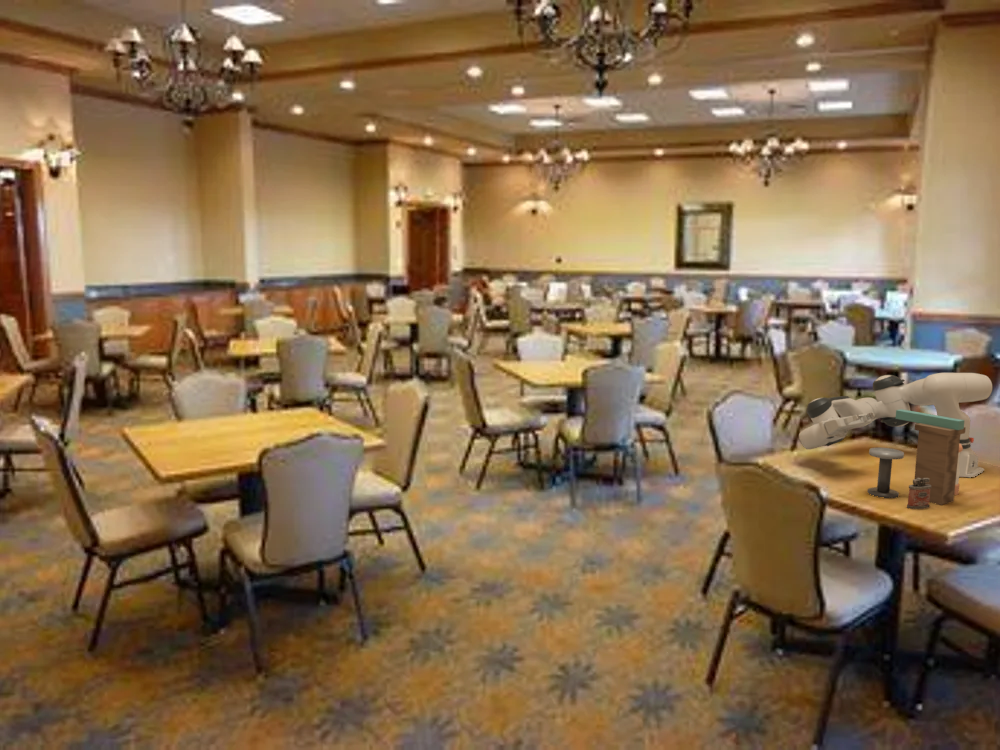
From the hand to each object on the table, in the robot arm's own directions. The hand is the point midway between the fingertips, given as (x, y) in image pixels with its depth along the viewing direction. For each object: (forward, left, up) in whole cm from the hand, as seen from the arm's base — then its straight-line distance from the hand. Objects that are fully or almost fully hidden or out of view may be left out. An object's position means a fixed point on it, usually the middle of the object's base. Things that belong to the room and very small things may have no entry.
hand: (865, 415), depth 311 cm
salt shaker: (-11, +26, -25) cm, 38 cm away
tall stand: (+2, +28, -24) cm, 37 cm away
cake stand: (+11, +15, -24) cm, 31 cm away
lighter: (+15, +30, -25) cm, 42 cm away
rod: (+2, +24, +2) cm, 25 cm away
